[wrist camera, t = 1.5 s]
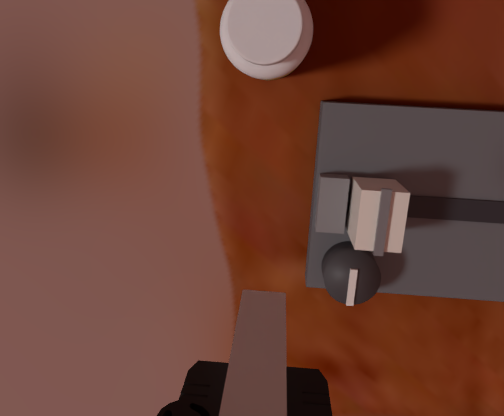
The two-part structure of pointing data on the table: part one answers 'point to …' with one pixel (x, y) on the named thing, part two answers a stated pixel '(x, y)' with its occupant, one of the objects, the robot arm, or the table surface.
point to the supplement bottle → (266, 36)
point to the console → (411, 201)
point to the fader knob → (377, 215)
